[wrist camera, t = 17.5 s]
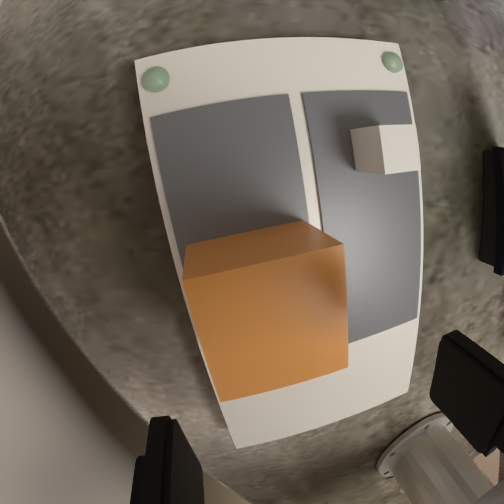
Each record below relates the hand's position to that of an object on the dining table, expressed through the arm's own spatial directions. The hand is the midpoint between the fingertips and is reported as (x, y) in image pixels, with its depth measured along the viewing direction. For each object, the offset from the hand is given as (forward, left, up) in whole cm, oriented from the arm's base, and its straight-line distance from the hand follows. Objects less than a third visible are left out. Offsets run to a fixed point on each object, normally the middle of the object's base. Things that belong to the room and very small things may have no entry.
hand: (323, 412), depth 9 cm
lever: (+7, -8, -9) cm, 14 cm away
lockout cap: (+1, 0, -9) cm, 9 cm away
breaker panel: (0, -4, -12) cm, 12 cm away
